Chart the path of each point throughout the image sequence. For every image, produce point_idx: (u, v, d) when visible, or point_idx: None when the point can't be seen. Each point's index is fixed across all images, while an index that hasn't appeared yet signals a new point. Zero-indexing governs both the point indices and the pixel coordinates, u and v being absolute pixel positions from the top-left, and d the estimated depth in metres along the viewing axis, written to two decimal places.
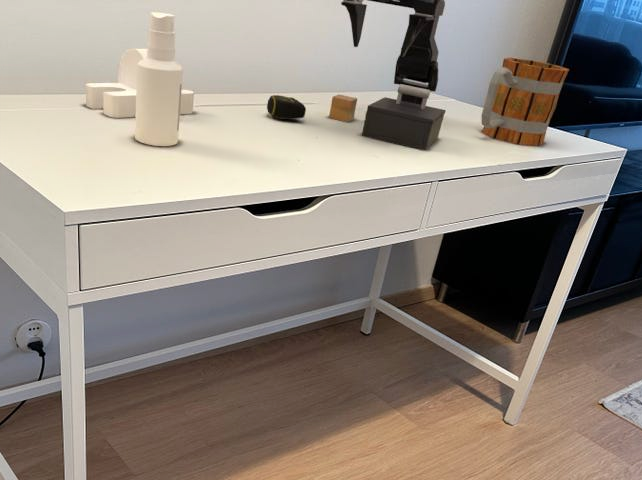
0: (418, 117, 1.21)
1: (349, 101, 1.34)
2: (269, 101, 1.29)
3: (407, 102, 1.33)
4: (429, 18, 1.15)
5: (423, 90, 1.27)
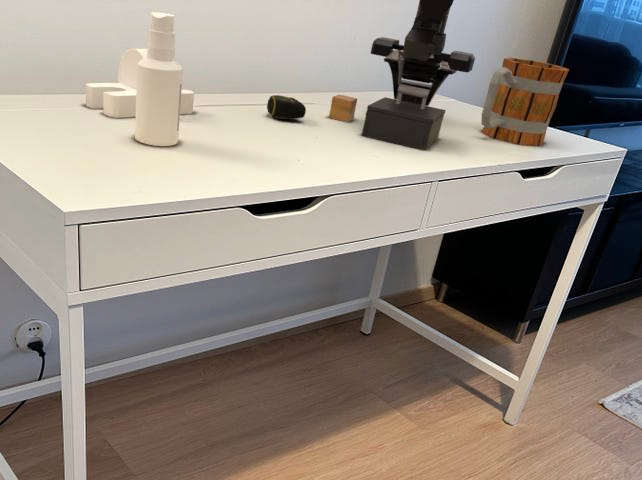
0: (418, 117, 1.21)
1: (349, 101, 1.34)
2: (269, 101, 1.29)
3: (407, 102, 1.33)
4: (454, 72, 1.23)
5: (423, 90, 1.27)
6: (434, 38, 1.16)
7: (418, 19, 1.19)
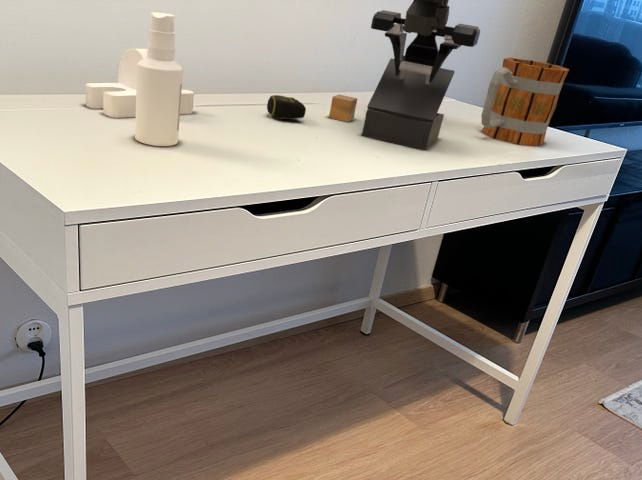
0: (418, 117, 1.21)
1: (349, 101, 1.34)
2: (269, 101, 1.29)
3: None
4: (458, 46, 1.18)
5: (425, 69, 1.22)
6: (437, 11, 1.11)
7: None
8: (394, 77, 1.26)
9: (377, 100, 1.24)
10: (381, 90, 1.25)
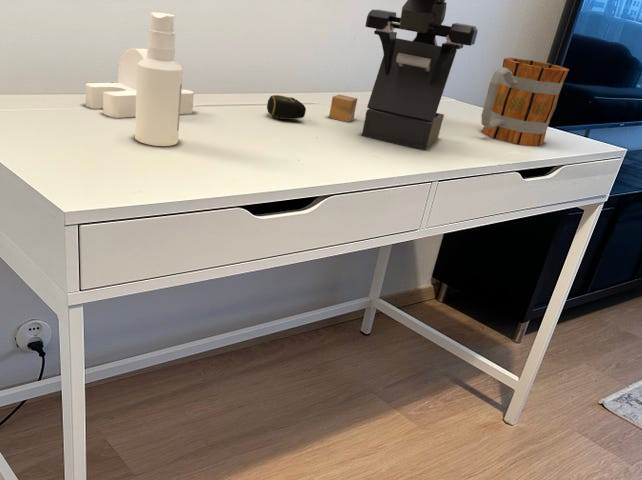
0: (418, 117, 1.21)
1: (349, 101, 1.34)
2: (269, 101, 1.29)
3: (414, 44, 1.21)
4: (460, 47, 1.14)
5: (422, 64, 1.18)
6: (434, 7, 1.07)
7: None
8: (393, 64, 1.22)
9: (376, 98, 1.23)
10: (380, 84, 1.23)
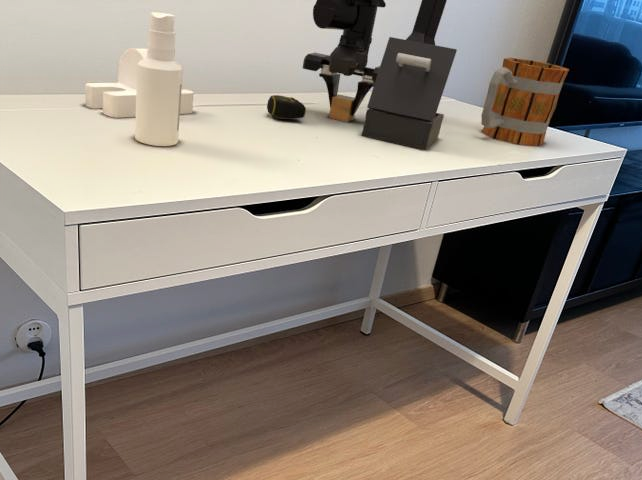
0: (418, 117, 1.21)
1: (349, 101, 1.34)
2: (269, 101, 1.29)
3: (414, 44, 1.21)
4: None
5: (422, 64, 1.18)
6: (356, 55, 1.25)
7: (343, 37, 1.28)
8: (393, 64, 1.22)
9: (376, 98, 1.23)
10: (380, 84, 1.23)
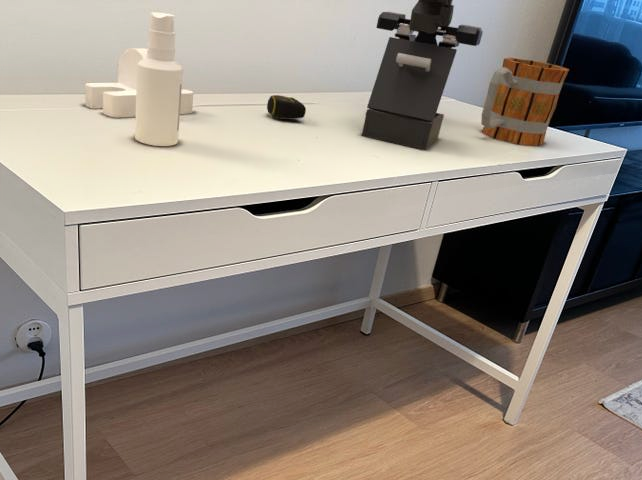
0: (418, 117, 1.21)
1: None
2: (269, 101, 1.29)
3: (414, 44, 1.21)
4: (456, 45, 1.21)
5: (422, 64, 1.18)
6: (441, 10, 1.14)
7: None
8: (393, 64, 1.22)
9: (376, 98, 1.23)
10: (380, 84, 1.23)
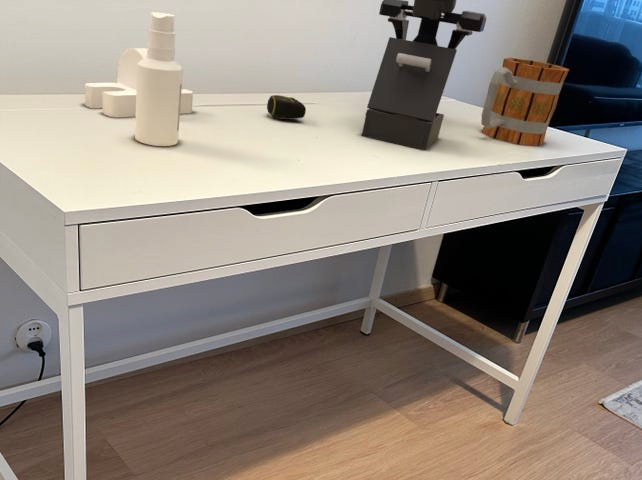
0: (418, 117, 1.21)
1: None
2: (269, 101, 1.29)
3: (414, 45, 1.21)
4: (470, 33, 1.20)
5: (422, 64, 1.18)
6: None
7: None
8: (393, 64, 1.22)
9: (377, 98, 1.23)
10: (380, 84, 1.23)
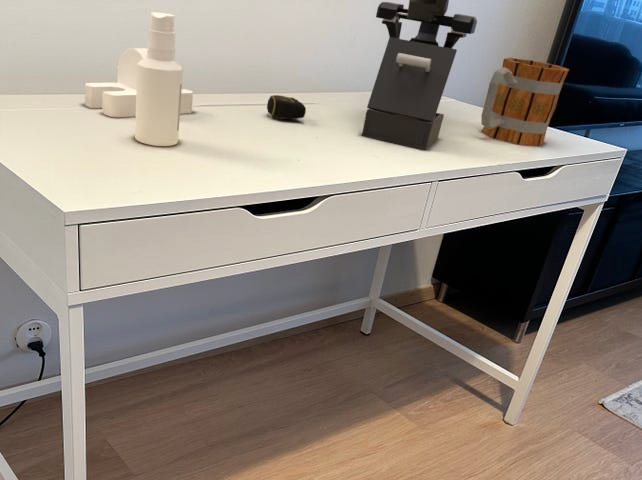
0: (418, 117, 1.21)
1: None
2: (269, 101, 1.29)
3: (414, 45, 1.21)
4: (464, 35, 1.27)
5: (422, 64, 1.18)
6: None
7: None
8: (393, 64, 1.22)
9: (377, 98, 1.23)
10: (380, 84, 1.23)
